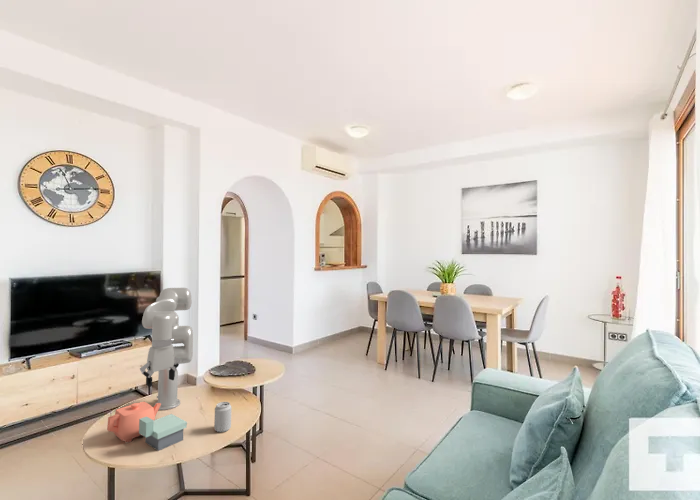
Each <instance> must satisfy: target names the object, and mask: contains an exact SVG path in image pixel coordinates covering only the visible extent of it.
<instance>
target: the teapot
mask: <svg viewBox="0 0 700 500" xmlns="http://www.w3.org/2000/svg"><path fill="white" fill-rule="evenodd" d="M155 403H156V405H155V404H154V405H155V406H154V405H153V406H152V405H151V404H149V403H148V402H146V401H141V402H134V403H131V404H129V405H127V406H123V407H120V408H117V409H115V412H114V414H113V415H111V416H108V417H107V428H106V430H107V431H108V432H109V433H110V432H111V433H113V434H114V435H115V436H116V437H117V438H118V439H119V440H121V441H122V442H124V443H131V442H133V439H134V438H137V437H140V436H142V437H144V436H143V435H141V434H140V433H139V419H141V418H144V417H146V416H147V417H149V418H150V419H152V420H156V416H157V414H158V412H159V408H160V406H161V403H157V402H155Z"/></svg>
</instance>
